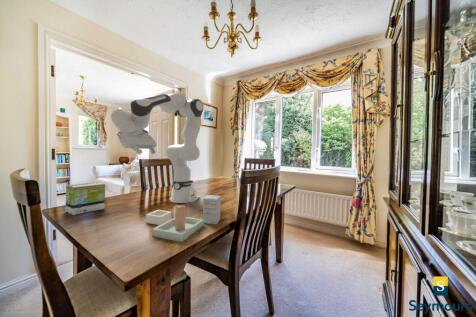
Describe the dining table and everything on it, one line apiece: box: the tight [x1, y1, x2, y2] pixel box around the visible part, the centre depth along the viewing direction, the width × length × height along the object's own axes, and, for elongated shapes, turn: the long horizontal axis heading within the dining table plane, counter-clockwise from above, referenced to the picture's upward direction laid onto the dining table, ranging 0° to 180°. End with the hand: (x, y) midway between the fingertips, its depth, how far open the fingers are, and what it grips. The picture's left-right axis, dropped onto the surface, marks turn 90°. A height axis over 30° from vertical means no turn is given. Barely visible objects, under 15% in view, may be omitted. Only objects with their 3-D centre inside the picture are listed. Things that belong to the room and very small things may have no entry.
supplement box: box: [202, 194, 222, 225], centre depth 101 cm, size 7×7×13 cm
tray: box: [152, 216, 205, 243], centre depth 88 cm, size 18×14×3 cm
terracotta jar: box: [174, 204, 186, 231], centre depth 88 cm, size 4×4×10 cm
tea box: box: [64, 182, 106, 216], centre depth 111 cm, size 15×10×15 cm, turn 151°
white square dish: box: [145, 209, 172, 226], centre depth 99 cm, size 8×8×4 cm
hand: (147, 153), depth 102 cm, fingers open, 8 cm apart
